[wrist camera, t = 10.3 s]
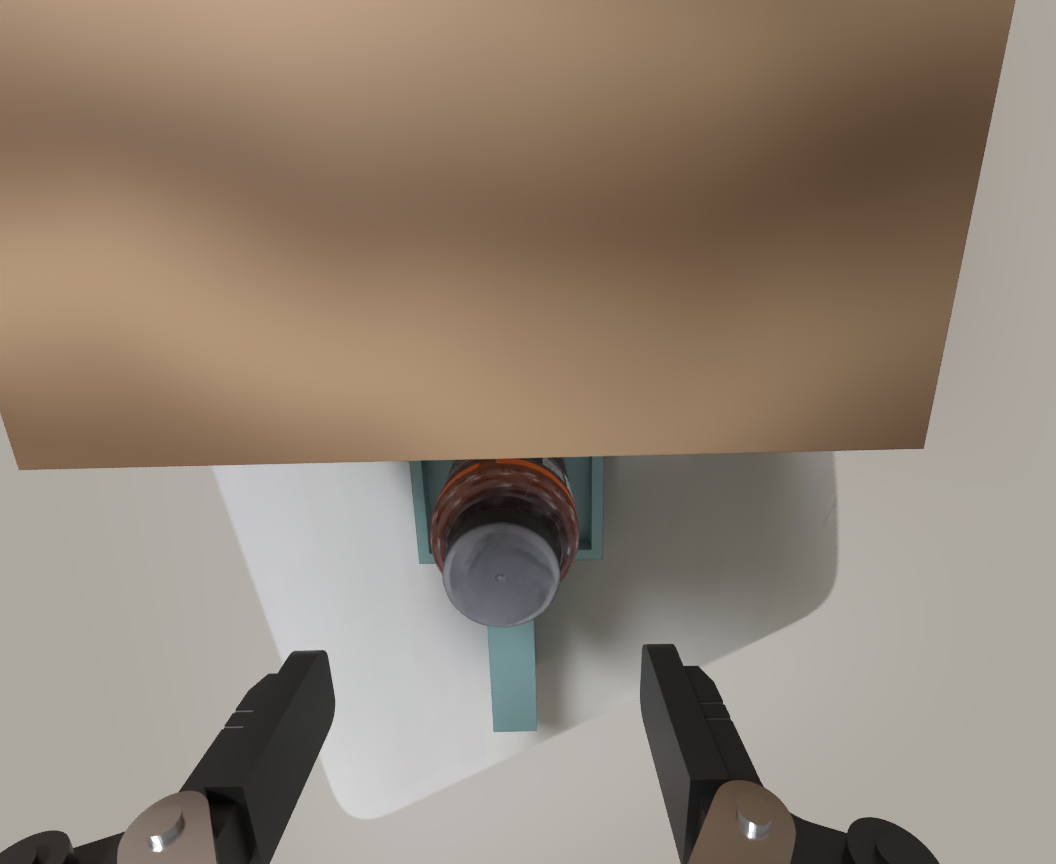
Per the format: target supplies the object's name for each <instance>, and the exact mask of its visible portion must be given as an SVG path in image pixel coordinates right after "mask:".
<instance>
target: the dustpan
mask: <svg viewBox="0 0 1056 864" xmlns="http://www.w3.org/2000/svg"><path fill="white" fill-rule="evenodd" d="M564 461H565V466H566V470H567V474H568V478H569V483H570V486H571V491H572V495H573V500H574V504H575V507H576V512H577V517H578V523H579V546H578V549H577V554H576V557H575V560H597V559H602V548H603V462H604V456H589V457H564ZM453 462H454V460H420V461H410V471H411V481H412V492H413V502H414V513H415V523H416V533H417V544H418V554H419V564H436V562H435V560H434V557H433V554H432V550H431V545H430V525H431V518H432V514H433V511H434V508H435V506H436V503H437V501H438V498H439V496H440V493H441V491H442V489H443V486H444V484H445V481H446V479H447V477H448V474H449V472H450V470H451V467H452V465H453ZM488 643H489V660H490V677H491V694H492V712H493V729H494V732H514V731H537V706H536V659H535V625H534V619H533V620H531V621H529V622H526V623H524V624H521V625H518V626H513V627H491V626H488Z"/></svg>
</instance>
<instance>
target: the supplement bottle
mask: <svg viewBox="0 0 1056 864" xmlns="http://www.w3.org/2000/svg"><path fill="white" fill-rule="evenodd" d="M430 545H431V550H432V554H433V557H434V560H435V562H436V564H437V567H438V568H439V570H440V571H441V573H442V574H443V582H444V587H445V591H446V593H447V595H448V597H449V599H450V601H451V602H452V604H453V605H454V606H455V607H456V608H457V609H458V610H459V611H460V612H461V613H462V614H463V615H465V616H466V617H468V618H469V619H471V620H473V621H475V622H477V623H479V624H482V625H486V626H491V627H513V626H518V625H521V624H524V623H526V622H529V621H531V620H533V619H535V618H536V617H538V616H539V615H540V614H541V613H543V612H544V611H545V610H546V609H547V608H548V607H549V605H550V604H551V603H552V601H553V599H554V597H555V595H556V593H557V590H558V588H559V583H560V582H561V581H562V579H563V578H564V577H565V576H566V574H567V573H568V572H569V570H570V568H571V567H572V564H573V563H574V560H575V557H576V554H577V549H578V546H579V523H578V517H577V512H576V507H575V504H574V500H573V495H572V491H571V486H570V483H569V478H568V474H567V470H566V466H565V461H564V457H547V458H504V459H462V460H454V462H453V465H452V467H451V470H450V472H449V474H448V477H447V479H446V481H445V484H444V486H443V489H442V491H441V493H440V496H439V498H438V501H437V503H436V506H435V508H434V511H433V514H432V518H431V525H430Z"/></svg>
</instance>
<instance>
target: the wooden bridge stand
mask: <svg viewBox="0 0 1056 864" xmlns="http://www.w3.org/2000/svg"><path fill="white" fill-rule="evenodd" d="M1014 4H1015V0H0V413H1V416H2V419H3V422H4V425H5V428H6V431H7V434H8V437H9V441H10V443H11V447H12V450H13V453H14V456H15V459H16V462H17V465H18V468H19V470H34V469H35V470H38V469H78V468H80V469H81V468H123V467H165V466H206V465H207V466H208V465H250V464H293V463H335V462H377V461H420V460H462V459H504V458H547V457H589V456H632V455H674V454H716V453H759V452H801V451H842V450H886V449H923V448H924V444H925V439H926V434H927V429H928V424H929V419H930V414H931V410H932V405H933V400H934V395H935V390H936V385H937V380H938V375H939V371H940V366H941V361H942V356H943V351H944V347H945V341H946V337H947V332H948V327H949V322H950V317H951V312H952V308H953V302H954V298H955V293H956V288H957V283H958V278H959V273H960V269H961V264H962V259H963V254H964V249H965V244H966V239H967V234H968V229H969V225H970V220H971V215H972V209H973V205H974V200H975V195H976V190H977V185H978V181H979V176H980V170H981V166H982V161H983V156H984V151H985V147H986V142H987V137H988V131H989V127H990V122H991V117H992V112H993V108H994V103H995V97H996V93H997V88H998V83H999V78H1000V73H1001V68H1002V64H1003V58H1004V54H1005V49H1006V44H1007V38H1008V34H1009V30H1010V24H1011V20H1012V15H1013V10H1014Z"/></svg>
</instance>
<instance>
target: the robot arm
mask: <svg viewBox="0 0 1056 864" xmlns="http://www.w3.org/2000/svg"><path fill="white" fill-rule="evenodd" d="M640 702H641V703H640V704H641V712H642V718H643V723H644V726H645V730H646V734H647V738H648V741H649V745H650V749H651V753H652V756H653V760H654V764H655V768H656V772H657V775H658V779H659V783H660V787H661V790H662V794H663V798H664V802H665V806H666V809H667V813H668V817H669V821H670V825H671V828H672V832H673V836H674V840H675V843H676V847H677V851H678V855H679V859H680V862H681V864H939V862H938V861H937V859H936V858H935V857H934V855H933V854H932V853H931V852H930V850H929V849H928V848H927V847H926V846H925V845H924V844H923V843H922V842H921V841H919V840H918V839H917V838H916V837H915V836H913V835H912V834H911V833H909V832H908V831H906V830H905V829H903V828H901V827H899V826H897V825H896V824H893V823H891V822H889V821H886V820H882V819H879V818H872V817H868V818H861V819H858V820H856V821H854V822H853V823H852V824H851V825H850V827H849V829H848V832H847V833H844V832H841V831H837V830H834V829H831V828H828V827H824V826H821V825H818V824H814V823H811V822H808V821H806V820H803V819H801V818H799V817H797V816H795V815H793V814H792V813H790V812H789V811H788V809H787V808H786V806H785V805H784V804H783V803H782V801H781V800H780V799H779V798H778V797H776V795H774V794H773V793H772V792H770V791H769V790H767V789H766V788H764V786H763V785H762V783H761V781H760V779H759V777H758V775H757V773H756V770H755V768H754V766H753V764H752V762H751V760H750V758H749V756H748V753H747V752H746V749H745V747H744V745H743V743H742V741H741V739H740V736H739V734H738V732H737V730H736V728H735V726H734V724H733V722H732V721H731V719H730V715H729V713H728V711H727V709H726V707H725V705H723V700H722V698H721V696H720V694H719V692H718V690H717V688H716V685H715V683H714V682H713V681H712V680H711V679H710V678H709V677H708V676H707V675H706V674H705V673H704V672H703V671H702V670H701V669H700V668H699V667H698V666H683V664H682V662H681V659H680V657H679V654H678V652H677V649H676V647H675V646H674V644H644V645H643V648H642V663H641V684H640ZM334 712H335V695H334V689H333V683H332V678H331V672H330V666H329V660H328V655H327V653H326V651H324V650H314V651H293V652H292V653H291V654H290V655H289V657H288V658H287V660H286V661H285V663H284V664H283V666H282V667H281V669H280V671H279V672H278V674H268V675H267V676H265V677H264V678H263V679H262V680H261V681H260V682H258V683H257V684H256V685H255V686H253V687H252V688H251V689H250V690H249V691H248V692H247V694H246V695H245V697H244V698H243V700H242V701H241V703H240V704H239V705H238V707H237V708H236V712H235V713H233V714H232V715H231V717H230V718H229V720H228V722H227V723H226V724H225V728H224V729H222V730H221V732H220V733H219V735H218V736H217V737H216V739H215V740H214V742H213V743H212V745H211V746H210V747H209V749H208V750H207V752H206V753H205V755H204V756H203V758H202V759H201V760H200V762H199V763H198V765H197V766H196V768H195V769H194V771H193V772H192V774H191V775H190V776H189V778H188V779H187V781H186V782H185V784H184V785H183V787H182V788H181V789H180V791H179V792H178V793H175V794H172V795H169V796H167V797H165V798H163V799H161V800H159V801H158V802H156V803H154V804H153V805H151V806H150V807H148V808H147V809H146V810H145V811H144V812H142V813H141V814H140V815H139V816H138V817H137V818H136V819H135V820H134V821H133V822H132V823H131V825H130V826H129V827H128V829H127V830H126V831H125V832H122V833H120V834H116V835H113V836H110V837H107V838H104V839H101V840H98V841H95V842H91V843H88V844H85V845H82V846H79V847H76V848H73V847H72V844H71V842H70V839H69V837H68V836H67V834H65V833H64V832H60V831H45V832H41V833H38V834H35V835H32V836H29V837H27V838H25V839H23V840H21V841H19V842H17V843H15V844H14V845H12V846H10V847H8V848H7V849H6V850H4V851H3V852H1V853H0V864H270V861H271V859H272V857H273V855H274V853H275V850H276V848H277V846H278V844H279V841H280V839H281V837H282V835H283V832H284V830H285V828H286V826H287V823H288V821H289V819H290V817H291V814H292V812H293V810H294V808H295V805H296V803H297V801H298V799H299V797H300V794H301V792H302V790H303V788H304V786H305V783H306V781H307V779H308V777H309V774H310V772H311V770H312V767H313V765H314V763H315V761H316V759H317V756H318V754H319V752H320V750H321V748H322V745H323V743H324V741H325V739H326V736H327V734H328V732H329V730H330V727H331V725H332V721H333V717H334Z"/></svg>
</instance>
